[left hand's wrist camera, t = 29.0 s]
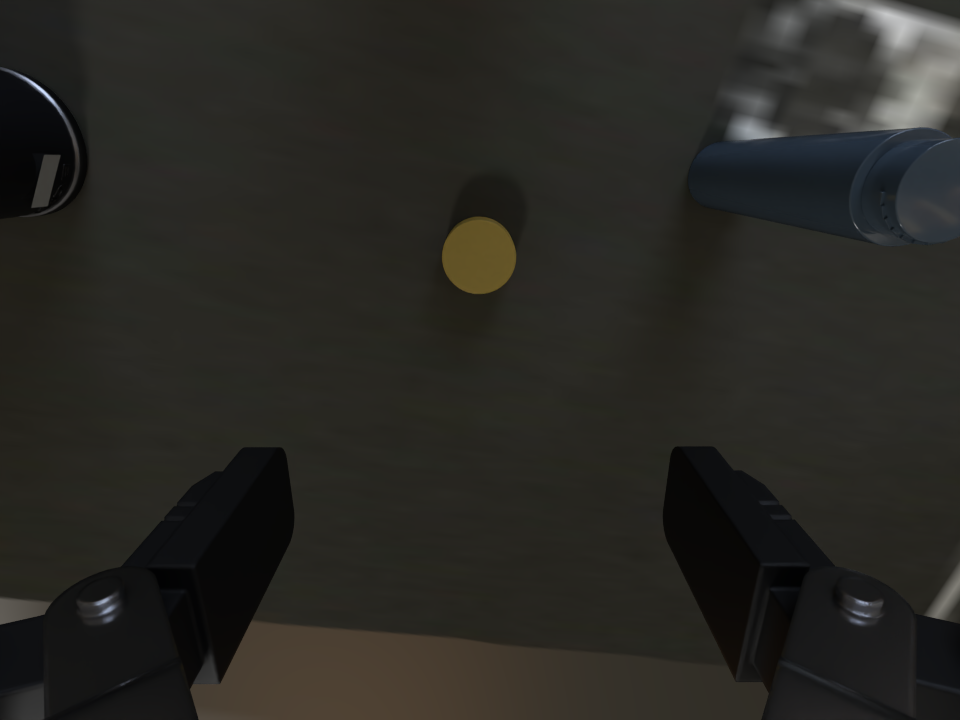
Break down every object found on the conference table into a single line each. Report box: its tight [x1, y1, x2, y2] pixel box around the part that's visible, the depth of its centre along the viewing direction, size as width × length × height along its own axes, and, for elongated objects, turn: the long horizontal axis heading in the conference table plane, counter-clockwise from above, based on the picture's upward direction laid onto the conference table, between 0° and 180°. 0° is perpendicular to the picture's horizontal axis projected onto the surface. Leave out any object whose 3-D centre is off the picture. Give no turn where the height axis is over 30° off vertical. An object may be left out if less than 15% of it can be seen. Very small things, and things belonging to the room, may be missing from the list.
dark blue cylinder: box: [688, 128, 960, 246], centre depth 29 cm, size 4×4×20 cm
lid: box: [442, 217, 516, 294], centre depth 39 cm, size 5×5×2 cm
